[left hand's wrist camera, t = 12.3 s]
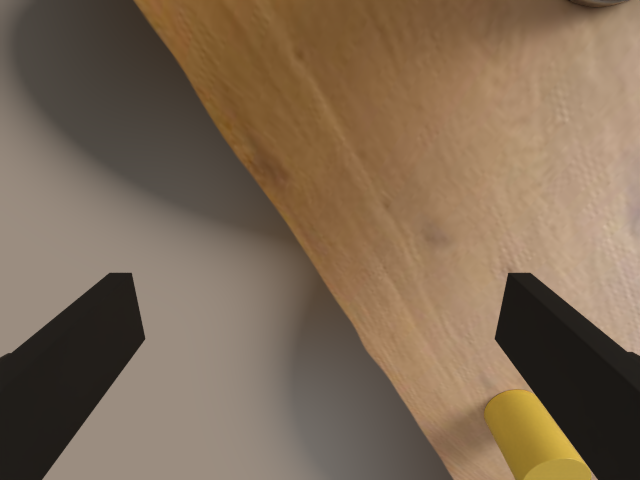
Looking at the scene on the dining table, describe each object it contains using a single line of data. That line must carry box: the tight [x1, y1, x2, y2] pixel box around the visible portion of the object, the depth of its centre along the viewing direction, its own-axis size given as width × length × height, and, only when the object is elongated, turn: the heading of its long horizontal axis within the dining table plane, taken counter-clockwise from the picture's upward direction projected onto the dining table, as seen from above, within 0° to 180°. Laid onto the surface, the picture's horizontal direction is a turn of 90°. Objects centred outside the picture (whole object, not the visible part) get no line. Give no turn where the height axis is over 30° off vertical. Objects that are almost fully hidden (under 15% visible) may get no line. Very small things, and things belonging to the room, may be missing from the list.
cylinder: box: [484, 390, 591, 480], centre depth 47 cm, size 8×8×10 cm
